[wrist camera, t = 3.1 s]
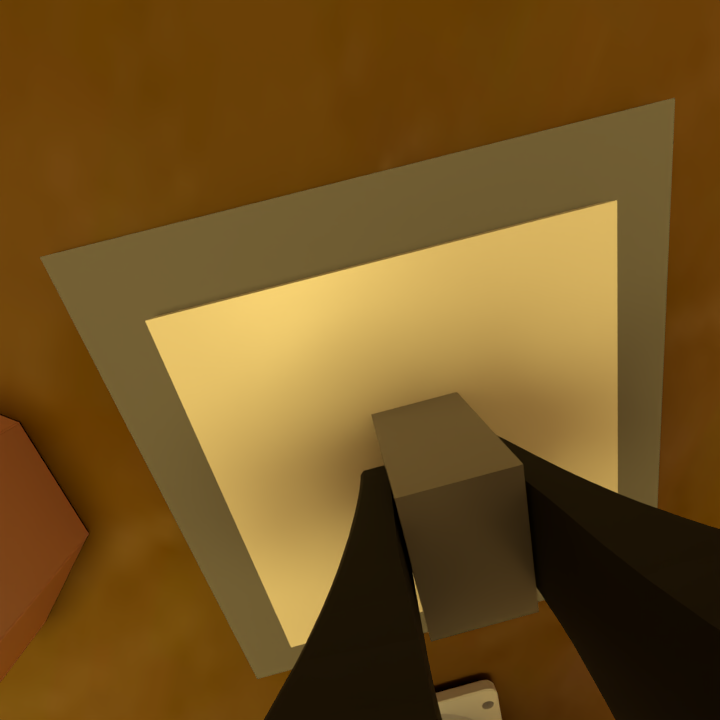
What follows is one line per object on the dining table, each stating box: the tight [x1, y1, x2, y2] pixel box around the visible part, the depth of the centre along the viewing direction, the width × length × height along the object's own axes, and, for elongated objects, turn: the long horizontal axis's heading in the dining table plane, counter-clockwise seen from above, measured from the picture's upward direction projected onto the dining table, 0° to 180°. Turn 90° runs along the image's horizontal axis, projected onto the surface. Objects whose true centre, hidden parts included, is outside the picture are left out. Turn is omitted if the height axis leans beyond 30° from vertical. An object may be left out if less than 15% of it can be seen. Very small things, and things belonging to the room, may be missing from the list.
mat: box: [40, 98, 675, 679], centre depth 11 cm, size 16×16×1 cm
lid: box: [145, 200, 618, 647], centre depth 9 cm, size 12×12×4 cm
